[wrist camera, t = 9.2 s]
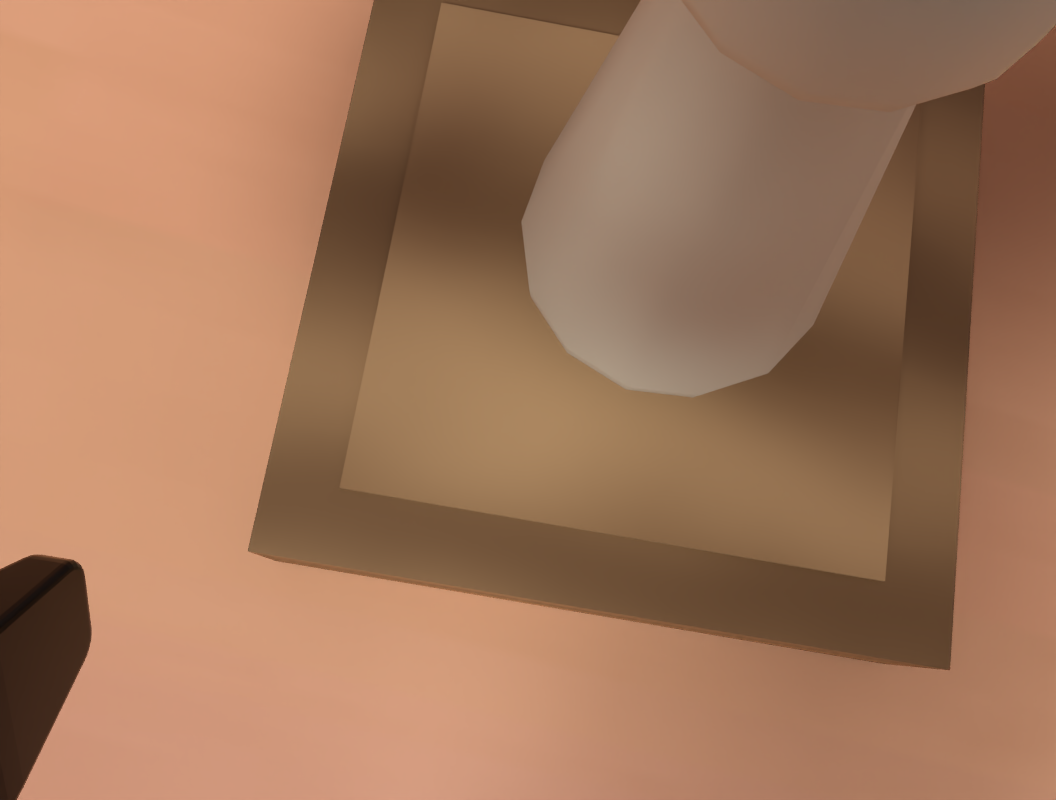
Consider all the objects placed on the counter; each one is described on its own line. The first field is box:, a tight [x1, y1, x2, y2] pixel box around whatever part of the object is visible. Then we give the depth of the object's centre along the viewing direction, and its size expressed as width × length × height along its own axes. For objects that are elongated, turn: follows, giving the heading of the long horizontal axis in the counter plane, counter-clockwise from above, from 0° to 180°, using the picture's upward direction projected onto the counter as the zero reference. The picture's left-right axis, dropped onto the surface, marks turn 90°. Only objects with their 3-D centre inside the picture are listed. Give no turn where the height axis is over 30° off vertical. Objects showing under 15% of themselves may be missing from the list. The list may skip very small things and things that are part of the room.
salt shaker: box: [521, 0, 1056, 398], centre depth 14 cm, size 6×6×13 cm
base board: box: [248, 0, 985, 670], centre depth 22 cm, size 14×14×3 cm
